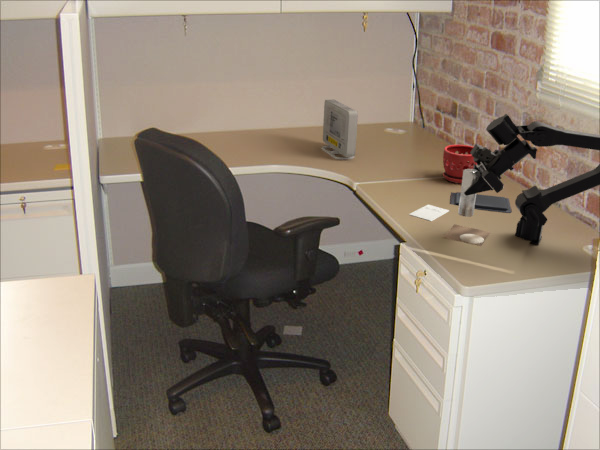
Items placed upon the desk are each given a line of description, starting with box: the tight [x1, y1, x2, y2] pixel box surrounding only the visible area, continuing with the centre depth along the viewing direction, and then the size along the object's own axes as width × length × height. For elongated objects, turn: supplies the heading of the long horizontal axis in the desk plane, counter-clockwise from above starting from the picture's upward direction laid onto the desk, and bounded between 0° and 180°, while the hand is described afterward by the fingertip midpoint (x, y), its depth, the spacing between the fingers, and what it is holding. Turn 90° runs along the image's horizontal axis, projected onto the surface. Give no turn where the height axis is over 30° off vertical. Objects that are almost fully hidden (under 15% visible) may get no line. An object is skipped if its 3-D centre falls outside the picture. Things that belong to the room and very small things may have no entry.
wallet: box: [449, 191, 513, 214], centre depth 215 cm, size 20×2×15 cm
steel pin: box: [457, 169, 479, 218], centre depth 183 cm, size 4×4×13 cm
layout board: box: [442, 223, 491, 247], centre depth 187 cm, size 11×12×1 cm
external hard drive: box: [407, 204, 450, 222], centre depth 202 cm, size 2×8×12 cm
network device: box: [320, 99, 359, 161], centre depth 262 cm, size 26×9×20 cm, turn 20°
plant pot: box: [442, 144, 477, 184], centre depth 235 cm, size 13×13×12 cm
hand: (463, 191), depth 183 cm, fingers closed on steel pin, 4 cm apart
